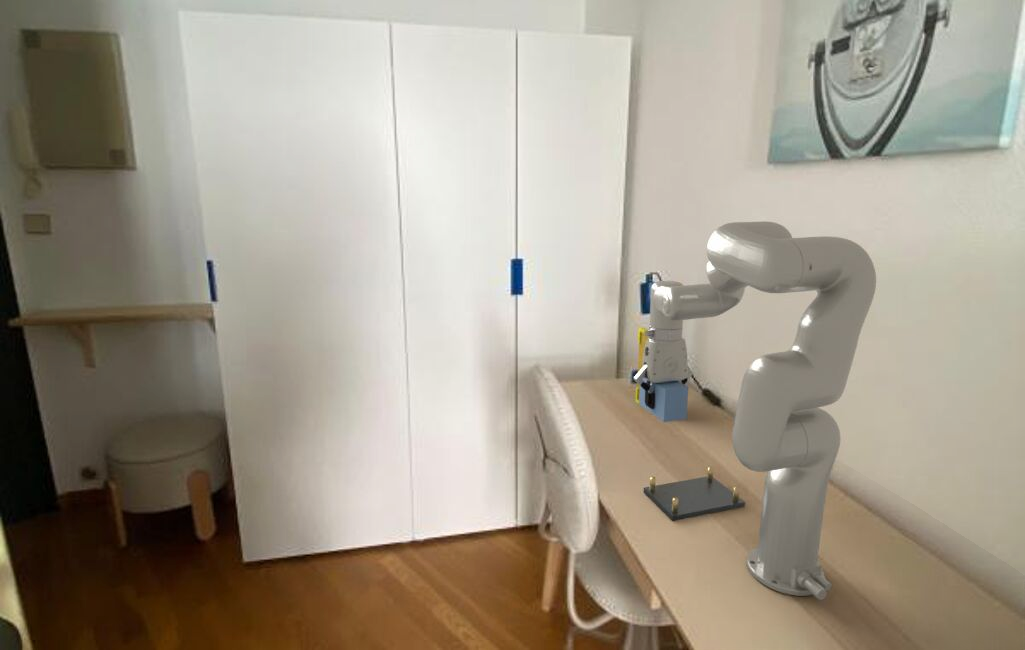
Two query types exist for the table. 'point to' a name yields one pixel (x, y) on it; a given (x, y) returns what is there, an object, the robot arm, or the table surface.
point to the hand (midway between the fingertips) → (662, 404)
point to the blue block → (667, 401)
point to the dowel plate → (693, 497)
